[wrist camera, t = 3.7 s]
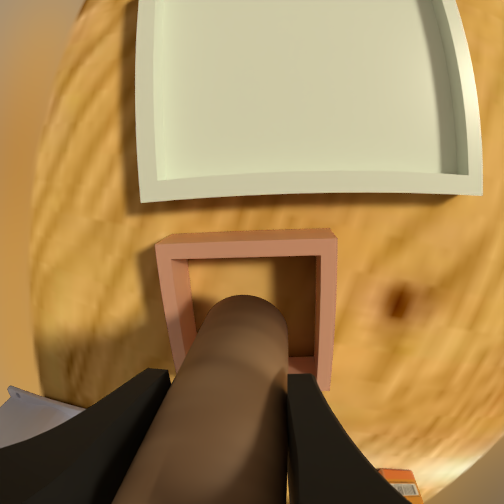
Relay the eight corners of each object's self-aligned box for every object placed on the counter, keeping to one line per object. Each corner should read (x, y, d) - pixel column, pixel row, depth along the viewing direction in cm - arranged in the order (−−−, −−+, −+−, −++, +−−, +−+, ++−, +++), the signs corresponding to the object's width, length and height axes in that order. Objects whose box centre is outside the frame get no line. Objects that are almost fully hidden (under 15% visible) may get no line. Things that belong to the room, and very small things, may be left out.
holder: (190, 364, 15) (179, 388, 14) (171, 234, 14) (154, 244, 12) (325, 365, 15) (329, 390, 13) (329, 228, 13) (337, 238, 11)
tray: (156, 199, 13) (140, 203, 12) (153, -13, 11) (141, -28, 9) (464, 192, 12) (482, 195, 10) (433, -15, 9) (445, -28, 8)
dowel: (208, 366, 12) (132, 569, 4) (199, 294, 12) (66, 506, 3) (287, 368, 12) (280, 592, 3) (287, 293, 11) (284, 551, 3)
